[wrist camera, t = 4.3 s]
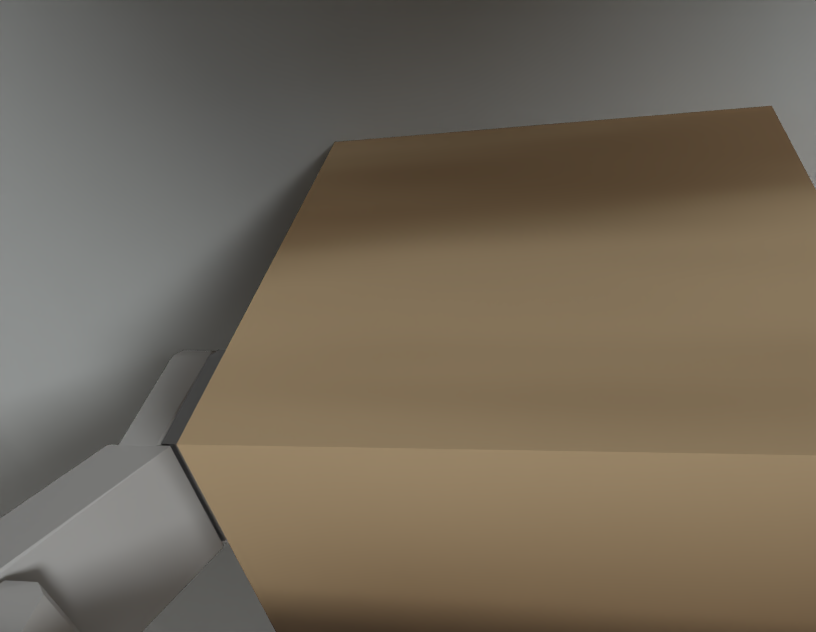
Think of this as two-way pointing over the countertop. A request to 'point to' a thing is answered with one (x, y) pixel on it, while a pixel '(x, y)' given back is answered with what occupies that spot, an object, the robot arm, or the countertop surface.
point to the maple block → (530, 386)
